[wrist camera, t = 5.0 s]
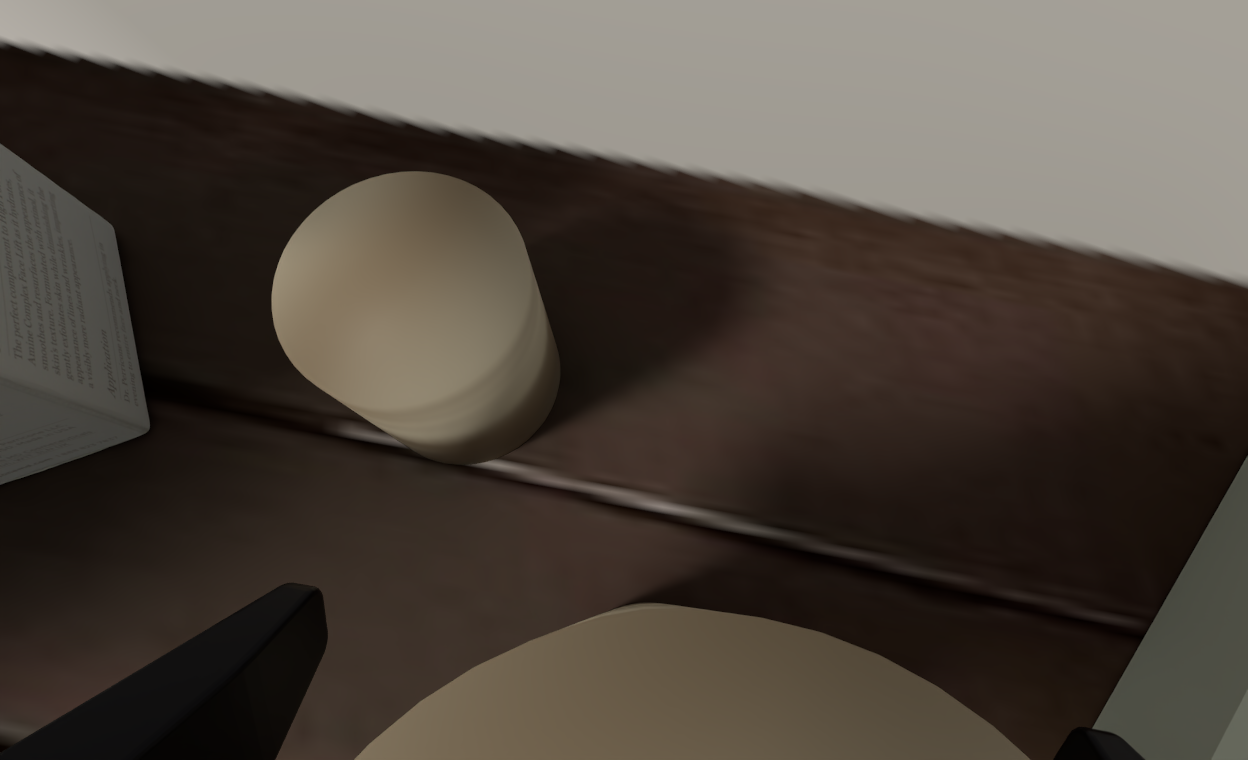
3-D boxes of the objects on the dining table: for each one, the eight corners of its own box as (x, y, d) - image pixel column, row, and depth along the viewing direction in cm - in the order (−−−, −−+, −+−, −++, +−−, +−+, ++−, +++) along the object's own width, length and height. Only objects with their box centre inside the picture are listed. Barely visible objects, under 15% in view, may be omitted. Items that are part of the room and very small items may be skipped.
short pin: (598, 361, 17) (583, 265, 12) (472, 503, 16) (399, 462, 11) (465, 258, 17) (401, 129, 13) (339, 386, 16) (217, 299, 12)
